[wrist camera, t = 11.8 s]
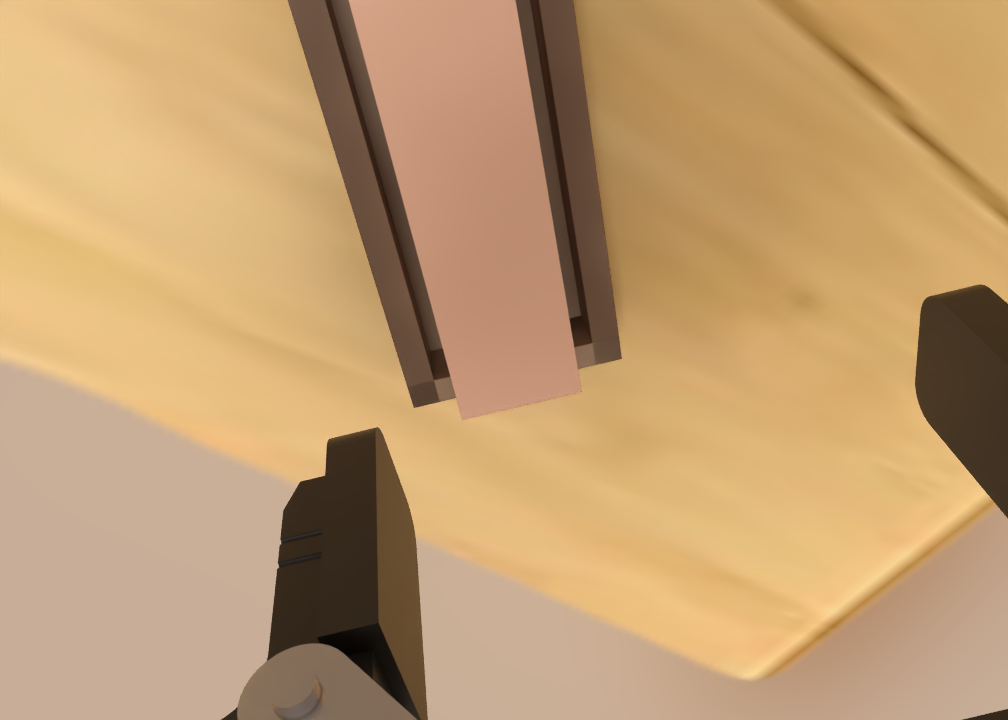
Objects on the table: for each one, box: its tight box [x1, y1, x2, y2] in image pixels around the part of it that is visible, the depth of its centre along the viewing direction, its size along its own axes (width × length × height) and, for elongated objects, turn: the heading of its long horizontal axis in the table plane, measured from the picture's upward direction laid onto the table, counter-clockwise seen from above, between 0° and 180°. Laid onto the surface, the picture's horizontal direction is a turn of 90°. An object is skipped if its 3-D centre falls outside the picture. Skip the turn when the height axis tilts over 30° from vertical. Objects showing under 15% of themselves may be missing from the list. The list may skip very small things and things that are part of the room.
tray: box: [288, 0, 622, 408], centre depth 30 cm, size 8×19×3 cm, turn 11°
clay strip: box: [349, 0, 582, 420], centre depth 28 cm, size 15×4×6 cm, turn 11°
